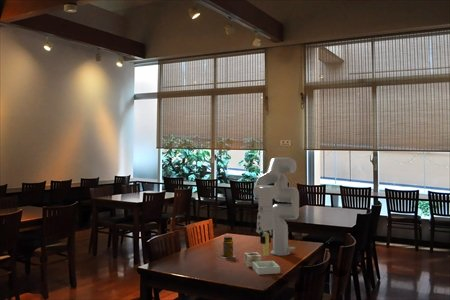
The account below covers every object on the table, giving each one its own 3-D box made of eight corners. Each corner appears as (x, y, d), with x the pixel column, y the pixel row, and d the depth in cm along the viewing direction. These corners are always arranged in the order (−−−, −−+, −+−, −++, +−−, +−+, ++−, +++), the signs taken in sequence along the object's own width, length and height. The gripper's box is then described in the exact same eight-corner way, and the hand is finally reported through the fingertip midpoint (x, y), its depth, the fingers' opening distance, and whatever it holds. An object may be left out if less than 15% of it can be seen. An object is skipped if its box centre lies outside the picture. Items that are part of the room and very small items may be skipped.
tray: (273, 267, 223) (273, 260, 223) (280, 273, 211) (279, 266, 211) (252, 268, 220) (252, 261, 221) (258, 274, 209) (258, 267, 209)
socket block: (257, 262, 232) (257, 252, 233) (261, 266, 225) (261, 255, 225) (244, 263, 231) (244, 252, 231) (247, 267, 223) (247, 256, 223)
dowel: (270, 255, 215) (270, 233, 216) (265, 256, 213) (265, 233, 213) (265, 254, 218) (265, 232, 218) (261, 255, 216) (260, 232, 216)
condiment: (235, 256, 247) (235, 237, 247) (224, 258, 242) (224, 239, 242) (229, 254, 253) (229, 235, 253) (218, 256, 248) (217, 237, 248)
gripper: (259, 211, 208) (259, 246, 208) (280, 208, 219) (281, 242, 218) (249, 209, 214) (249, 244, 213) (270, 207, 224) (271, 240, 224)
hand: (265, 242), depth 216 cm, fingers closed on dowel, 3 cm apart
